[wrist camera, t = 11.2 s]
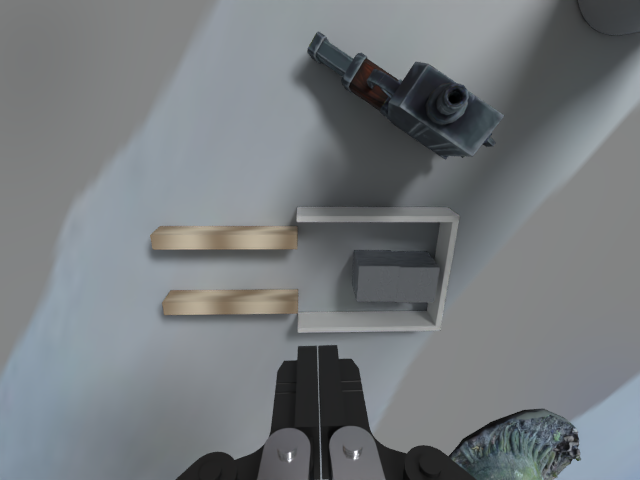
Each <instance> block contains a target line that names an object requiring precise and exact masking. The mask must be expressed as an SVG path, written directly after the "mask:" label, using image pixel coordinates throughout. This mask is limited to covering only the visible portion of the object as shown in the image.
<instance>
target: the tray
mask: <svg viewBox="0 0 640 480" xmlns="http://www.w3.org/2000/svg"><path fill="white" fill-rule="evenodd" d="M459 218H460V216H459V215H458V214H456V213H455V212H454V211H452V210H451V209H450V208H448V207H297V222H440V226H439V233H438V239H437V246H436V253H435V259H434V261H435V262H436V263H437V265H438V266H439V267H440V270H439V276H438V282H437V288H436V294H435V300H434V302H428V306H427V311H365V312H298V333H310V332H383V331H440V329H441V323H442V317H443V312H444V306H445V300H446V294H447V288H448V282H449V277H450V271H451V265H452V259H453V253H454V247H455V242H456V236H457V230H458V224H459Z"/></svg>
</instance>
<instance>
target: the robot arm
mask: <svg viewBox="0 0 640 480" xmlns="http://www.w3.org/2000/svg"><path fill="white" fill-rule="evenodd" d="M578 3H579V8H580V11H581V13H582V15H583V17H584V19H585V20H586V21H587V22H588V23H589V25H590V26H591V27H592V28H594V29H596V30H597V31H599V32H601V33H604V34H608V35H624V34H629V33H634V32H640V0H578ZM318 355H319V398H320V427H321V455H322V479H329V480H477V479H475V478H474V477H473V476H472V475H470V474H469V473H468V472H467V471H465V470H464V469H463V468H462V467H460V466H459V465H458V464H457V463H456V462H454V461H453V460H452V459H451V458H449V457H448V456H447V455H446V454H444V453H443V452H442V451H440V450H438V449H436V448H433V447H431V446H424V445H423V446H417V447H414V448H412V449H411V450H410V451H409V452H408V453H407V454H406V453H402V452H399V451H395V450H392V449H389V448H387V447H385V446H383V445H382V444H380V443H379V442H378V441H377V440H376V439H375V438H374V436H373V435H372V433H371V431H370V427H369V422H368V417H367V411H366V406H365V400H364V395H363V390H362V384H361V378H360V373H359V368H358V367H357V365H356V364H355V363H354V361H353V360H352V359H339V358H338V349H337V345H323V346H318ZM176 480H320V443H319V404H318V372H317V346H298V358H297V360H295V361H284V362H283V364H282V365H281V367H280V368H279V370H278V372H277V381H276V389H275V398H274V407H273V416H272V425H271V432H270V435H269V438H268V439H267V441H266V443H265V444H264V445H263V446H262V447H261V448H260V449H259V450H257V451H256V452H254V453H252V454H250V455H248V456H245V457H242V458H239V459H236V460H234V459H233V458H232V457H231V456H230V455H228V454H226V453H223V452H212V453H209V454H206V455H204V456H202V457H201V458H199V459H198V460H197V461H196V462H194V463H193V464H192V465H191V466H190V467H189V468H188V469H187V470H186V471H185V472H183V473H182V474H181V475H180V476H179V477H178V478H177V479H176Z"/></svg>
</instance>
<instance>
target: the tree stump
mask: <svg viewBox="0 0 640 480" xmlns="http://www.w3.org/2000/svg"><path fill="white" fill-rule="evenodd" d="M577 433H578V432H577V430H576V428H575V427H574V426H573V425H572V424H571V423H570V422H569V421H567V420H566V419H565V418H564V417H561V416H559V415H557V414H554V413H552V412H550V411H548V410H545V409H530V410H522V411H520V412H517V413H514V414H511V415H508V416H506V417H503V418H500V419H498V420H495V421H492V422H490V423H489V424H487V425H485V426H484V427H482V428H481V429H479V430H477V431H475V432H474V433H472V434H470V435H469V436H467V437H465V438H464V439H463V440H462V441H461V442H460V444H459V445H458V446H457V447H456V449H455V450H454V451H453V452H452V453H451V454H450V455H449V458H451V459H452V460H453V461H454V462H456V463H457V464H458V465H459V466H460V467H462V468H463V469H464V470H465V471H467V472H468V473H469V474H470V475H472V476H473V477H474V478H475V479H477V480H553V479H554V478H556V477H557V475H558V474H559V473H560V472H561V471H562V470H563V469H564V468H565V467H566V466H567V465H569V464H571V461H572V459H576V460H577V461H579V460H581V458H580V456H579V455H580V450H579V449H578V445H579V438H578V434H577ZM555 446H556V448H554V447H555Z"/></svg>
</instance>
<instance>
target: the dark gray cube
mask: <svg viewBox="0 0 640 480" xmlns="http://www.w3.org/2000/svg"><path fill="white" fill-rule="evenodd" d="M392 253H393V255H394V257H395V259H396V260H397V262H398V264H399V266H400V269H399V278H398V286H397V294H396V303H425V302H434V300H435V294H436V288H437V282H438V276H439V270H440V267H439V266H438V265H437V263H436V262H435V261H434V260H433V258H432V257H431V256H430V255H429V253H428V252H427V251H392Z"/></svg>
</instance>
